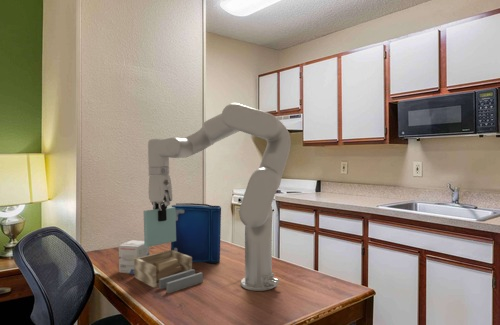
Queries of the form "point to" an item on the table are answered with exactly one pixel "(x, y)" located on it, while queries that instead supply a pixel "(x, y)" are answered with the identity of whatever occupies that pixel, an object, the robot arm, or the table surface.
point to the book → (198, 231)
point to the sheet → (159, 227)
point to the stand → (180, 281)
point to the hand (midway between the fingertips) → (160, 220)
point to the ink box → (131, 255)
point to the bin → (147, 270)
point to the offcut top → (166, 264)
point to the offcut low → (168, 273)
